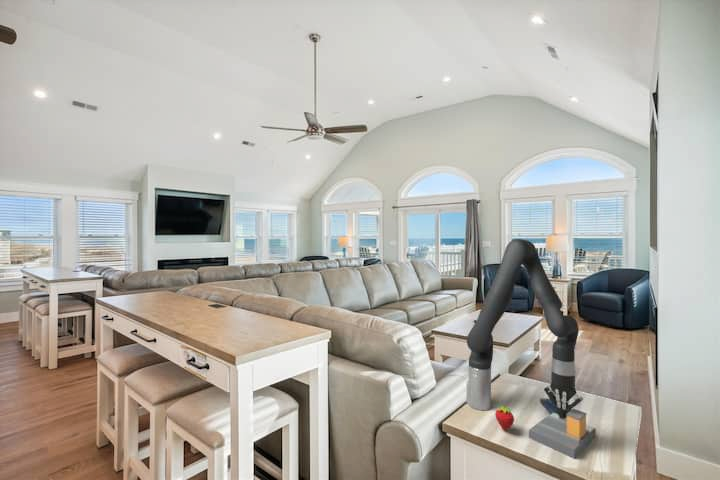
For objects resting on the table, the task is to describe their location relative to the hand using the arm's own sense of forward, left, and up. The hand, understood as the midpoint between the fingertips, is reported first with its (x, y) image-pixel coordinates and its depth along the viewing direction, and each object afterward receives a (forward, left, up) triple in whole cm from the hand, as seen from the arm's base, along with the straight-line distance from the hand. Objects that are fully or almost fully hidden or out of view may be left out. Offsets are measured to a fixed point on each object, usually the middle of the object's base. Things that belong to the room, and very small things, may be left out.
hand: (562, 417), depth 128 cm
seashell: (-9, +17, -8) cm, 21 cm away
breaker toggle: (+5, 0, -4) cm, 6 cm away
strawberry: (-15, -13, -7) cm, 21 cm away
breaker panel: (0, 0, -7) cm, 7 cm away
